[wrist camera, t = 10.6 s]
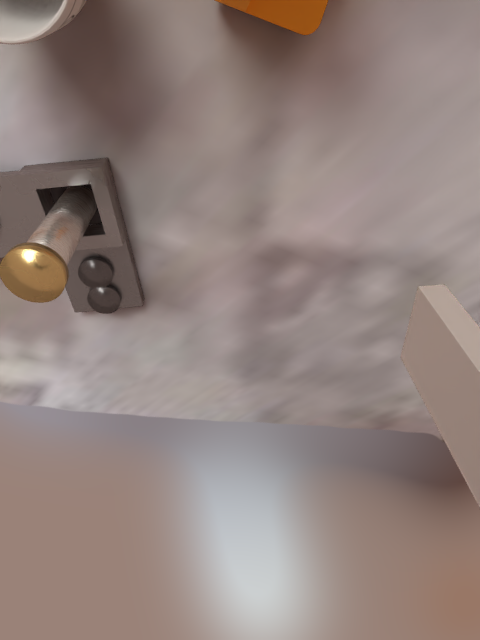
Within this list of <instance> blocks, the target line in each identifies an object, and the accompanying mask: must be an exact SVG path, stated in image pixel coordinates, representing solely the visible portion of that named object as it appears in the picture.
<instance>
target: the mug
mask: <svg viewBox="0 0 480 640" xmlns="http://www.w3.org/2000/svg"><path fill="white" fill-rule="evenodd" d="M86 1H87V0H0V43H2V44H24V43H29V42H33V41H36V40H39V39H42V38H44V37H46V36H48V35H50V34H51V33H53V32H55V31H57V30H59V29H61V28H62V27H64V26H65V25H67V24H68V23H69V22H71V21H72V20H73V19H74V18H75V17H76V16H77V14H78V13H79V12H80V11H81V9H82V8H83V6H84V4H85V3H86Z"/></svg>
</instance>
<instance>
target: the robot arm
mask: <svg viewBox="0 0 480 640" xmlns="http://www.w3.org/2000/svg"><path fill="white" fill-rule="evenodd" d="M401 359H402V361H403V363H404V365H405V367H406V369H407V371H408V373H409V374H410V376H411V378H412V380H413V382H414V384H415V386H416V388H417V390H418V392H419V393H420V395H421V397H422V399H423V401H424V403H425V405H426V407H427V409H428V411H429V412H430V414H431V416H432V418H433V420H434V422H435V424H436V426H437V428H438V430H439V432H440V433H441V435H442V437H443V439H444V441H445V443H446V445H447V447H448V449H449V451H450V452H451V454H452V456H453V458H454V460H455V462H456V464H457V466H458V468H459V470H460V471H461V473H462V475H463V477H464V479H465V481H466V483H467V485H468V487H469V489H470V490H471V492H472V494H473V496H474V498H475V500H476V502H477V504H478V506H479V508H480V328H479V326H478V325H477V324H476V323H475V321H474V320H473V319H472V318H471V316H470V315H469V314H468V313H467V312H466V310H465V309H464V308H463V307H462V305H461V304H460V303H459V302H458V300H457V299H456V298H455V297H454V295H453V294H452V293H451V292H450V290H449V289H448V288H447V287H446V286H445V285H432V286H418V289H417V293H416V297H415V301H414V305H413V309H412V313H411V317H410V321H409V325H408V329H407V333H406V337H405V341H404V345H403V349H402V353H401Z"/></svg>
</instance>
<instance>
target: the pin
mask: <svg viewBox="0 0 480 640" xmlns="http://www.w3.org/2000/svg"><path fill="white" fill-rule="evenodd" d="M96 210H97V204H96V201H95V197H94V194H93V192H92V191H91V190H90V189H88V188H87V187H85V186H82V185H75V186H70V187H68V188H67V189H66V190H65V191H64V193H63V194H62V195H61V197H60V198H59V199H58V201H57V202H56V203H55V205H54V206H53V207H52V209H51V210H50V211H49V213H48V214H47V215H46V217H45V218H44V219H43V221H42V222H41V223H40V225H39V226H38V227H37V229H36V230H35V231H34V233H33V234H32V235H31V237H30V238H29V239H28V241H27V242H26V243H21V244H18V245H16V246H14V247H13V248H11V249H10V250H9V252H8V253H7V254H6V255H5V257H4V258H3V259H2V261H1V263H0V277H1V279H2V281H3V283H4V285H5V286H6V287H7V288H8V289H9V290H10V291H11V292H12V293H13V294H15V295H16V296H18V297H20V298H22V299H24V300H27V301H31V302H38V303H42V302H49V301H52V300H54V299H56V298H57V297H58V296H60V294H61V293H62V292H63V290H64V288H65V286H66V284H67V281H68V278H69V271H68V267H67V265H68V263H69V261H70V259H71V257H72V255H73V253H74V251H75V250H76V248H77V246H78V244H79V242H80V240H81V238H82V236H83V234H84V233H85V231H86V229H87V227H88V225H89V223H90V221H91V219H92V217H93V215H94V214H95V212H96Z"/></svg>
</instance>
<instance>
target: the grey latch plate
mask: <svg viewBox="0 0 480 640" xmlns="http://www.w3.org/2000/svg"><path fill="white" fill-rule="evenodd" d="M102 162H105V165H106V169H107V173H108V176H109V180H110V184H111V188H112V191H113V195H114V199H115V203H116V207H117V210H118V214H119V218H120V222H121V225H122V229H123V233H124V237H125V242H124V245H123V246H117V247H107V248H96V249H86V250H76V251H74V253H73V255H72V257H71V259H70V261H69V263H68V265H67V267H68V271H69V278H68V281H67V284H66V286H65V288H66V290H67V293H68V296H69V298H70V301H71V303H72V306H73V308H74V311H75V312H85V311H97V312H100V313H112V312H114V311H116V310H117V309H118V308H126V307H136V306H143V303H144V296H143V292H142V288H141V284H140V281H139V277H138V273H137V269H136V265H135V261H134V257H133V254H132V250H131V246H130V242H129V238H128V234H127V230H126V227H125V223H124V219H123V215H122V211H121V207H120V203H119V200H118V196H117V192H116V188H115V184H114V180H113V176H112V173H111V169H110V165H109V161H108V158H100V159H89V160H79V161H69V162H59V163H48V164H38V165H28V166H24V167H23V168H22V169H21V170H30V169H40V168H50V167H61V166H71V165H81V164H92V163H102ZM43 192H44V195H45V198H46V200H47V203H48V206H49V209H50V210H51V209H52V207H53V206H54V203H53V200H52V197H51V194H50V191H49V189H48V188H44V189H43ZM97 229H104V228H103V224H92V225H88V227H87V229H86V231H87V230H97Z"/></svg>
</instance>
